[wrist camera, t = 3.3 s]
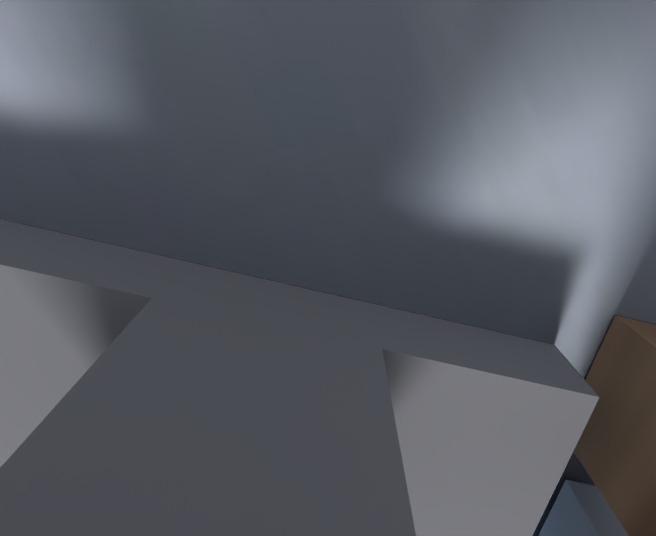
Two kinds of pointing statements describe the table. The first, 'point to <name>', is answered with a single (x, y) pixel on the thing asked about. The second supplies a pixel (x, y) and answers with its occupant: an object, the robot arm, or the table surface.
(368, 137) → the table surface
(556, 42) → the table surface
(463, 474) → the gray t-shaped pedestal
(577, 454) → the wooden blocks
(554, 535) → the door leaf
